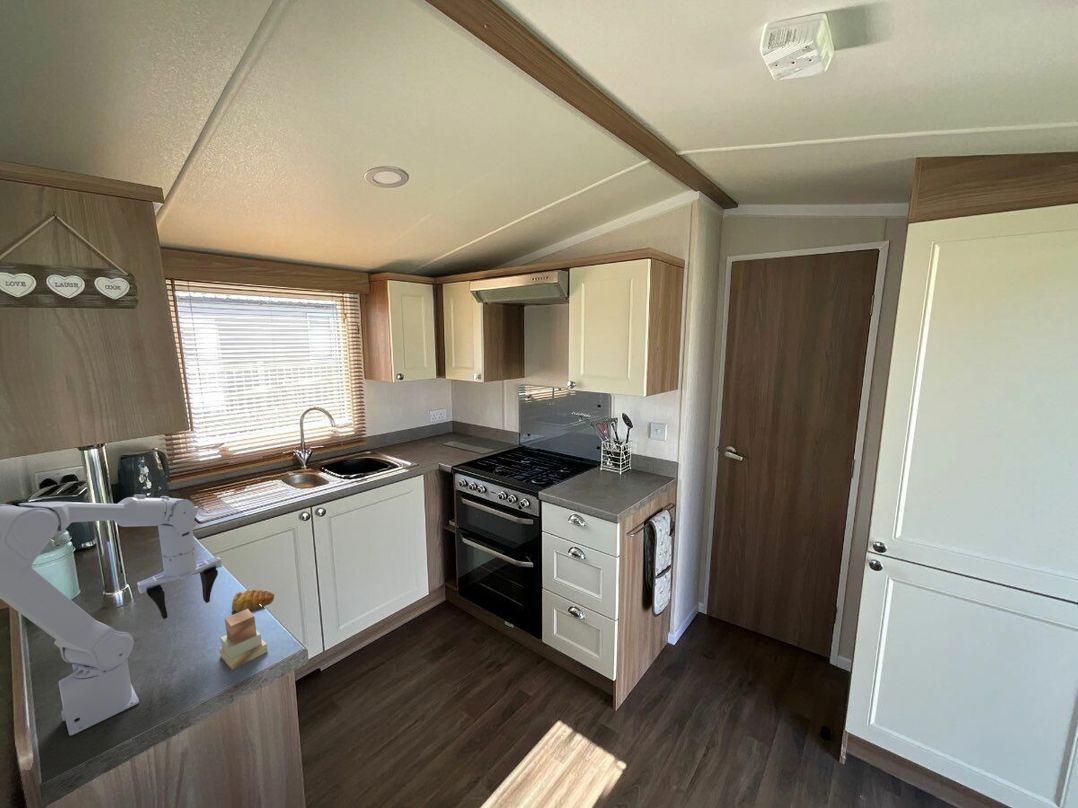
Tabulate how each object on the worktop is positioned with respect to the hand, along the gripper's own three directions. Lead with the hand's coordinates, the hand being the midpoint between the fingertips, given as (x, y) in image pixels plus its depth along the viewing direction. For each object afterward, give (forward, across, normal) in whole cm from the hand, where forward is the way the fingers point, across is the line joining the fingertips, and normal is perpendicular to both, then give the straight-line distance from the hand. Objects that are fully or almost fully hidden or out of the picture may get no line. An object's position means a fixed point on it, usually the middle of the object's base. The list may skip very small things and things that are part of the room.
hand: (186, 608), depth 101 cm
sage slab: (+8, +7, -10) cm, 15 cm away
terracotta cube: (+6, +7, -11) cm, 14 cm away
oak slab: (+11, +7, -11) cm, 17 cm away
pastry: (+11, +16, +10) cm, 21 cm away
